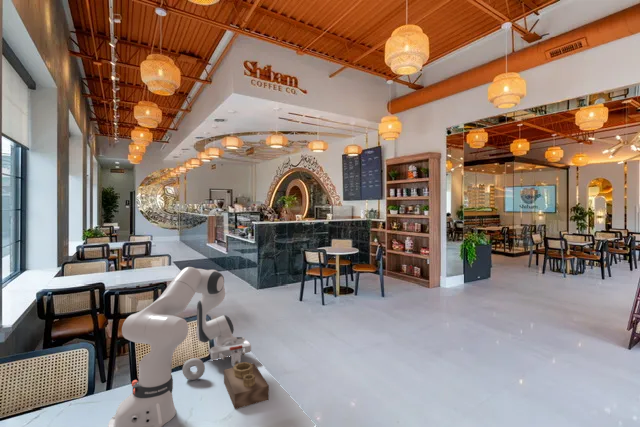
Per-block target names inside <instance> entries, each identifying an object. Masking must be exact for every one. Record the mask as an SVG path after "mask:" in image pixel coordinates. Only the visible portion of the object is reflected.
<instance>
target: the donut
mask: <svg viewBox="0 0 640 427" xmlns="http://www.w3.org/2000/svg"><path fill="white" fill-rule="evenodd" d="M205 366H206V365H205V363H204V361H203V360H202V359H199V358H198V357H197V358H196V357H193V358H190V359H187V360H186V361H185V362H184V363H183V365H182V374H183V376H184V377H185V379H187V380H189V381H195V380H198V379H200V378H201V377H202V376H203V375H204V373H205V370H206V367H205ZM191 367H195V368H196V371H192V370H191Z"/></svg>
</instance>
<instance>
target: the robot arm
mask: <svg viewBox="0 0 640 427" xmlns="http://www.w3.org/2000/svg"><path fill="white" fill-rule="evenodd" d="M195 293H196V294H201V298H200V299H199V300H198V301H197V303H196V304H197V305H196V333H195V334H196V337H197V339H198V341H199V342H201V343H208V342H209V341H212V340H214V339H215V341H216V344H217V345H215V346H212V347H210V348H209V349H208V353H209V354H210V359H211V360H217V359H222V360H223V361H224V360H226V359H227V357H231V352H232V351H234V350H229V348H230V347H235V346H241V345H242V348H241V349H237V350H240V351H241V357H243V356H246V354H247V353H250V352H251V351H252V344H251V343H250V342H249V340H248V339H245V338H246V337H244V336H243V337H242V336H233V333H234V331H235V330H234V324H233V322H232V320H231V318H230V317H229V316H227V315H225V314H223V315H221V316H218V317H215V318H213V319H210V320H208V321H207V315H208V313H209V312H211V311H212V310H213V309H214V308H216V307H218V306H219V305H221V304H222V302H223V301H224V299H225V296H226V289H225V277H224V276H223V274H222V273H221V272H219V271H218V270H217V269H203V268H196V267H192V266H187V267H184V268H182V269H181V270H180V271H178V273H177V274H176V276H174V278H173V279H172V280H171V281H170V283H168V286H167V287H166V288H165V289H164V291H163V292H162V294H160V296H158V297H157V299H156V300H154V301H153V302H151V304H149V305H148V306H146V307H145V308H143V309H141V310H140V311H138V312H135V313H132V314H130V315H129V316H127V317H126V319H124V322H123V323H122V326H121V335H122V337H123V338H124V339H125V340H128V341H130V342H133V343H135V344H144V345H150V352H149V353H146V354H145V355H144V356H143V357H142V358H141V359H140V360H139V364H138V380H137V379H134V380H132V381H131V387H132V393H131V394H130V395H129V396H126V398H125V399H124V400H122V401H121V402H120V403H119V405H118V407H117V409H116V412H115V414H114V415H113V416H112V417H111V418H110V420H109V421H108V423H107V427H163V426H164V425H165V424H167V423H168V422H170V421H171V420H172V419H173V418H174V417H175V416H176V413H177V409H176V406H175V402H174V397H173V389H174V379H173V375H172V361H173V356H174V355H173V354H174V352H175V351H176V348H177V347H179V346H180V345H181V344H182V343H184V341H185V340H186V339H187V337H188V334H189V324H188V322H187V320H186V319H185V318H182V317H180V316H177V315H180V314H182V313H183V312H184V311H185V310H186V308H187V307H188V305H189V303H190V302H191V301H192V299H193V298H194V296H195Z"/></svg>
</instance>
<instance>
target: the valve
mask: <svg viewBox="0 0 640 427" xmlns="http://www.w3.org/2000/svg"><path fill="white" fill-rule="evenodd" d="M241 348H242V345H241V346H235V347H230V348H229V350H234V351H232V352H231V356H230V358H231V359H230V360H231V362H230V365H231V366H230V368H233V367H234V366H235V365H236V364H238V363H242V361H241V358H242V355H241V351H240V350H237V349H241Z"/></svg>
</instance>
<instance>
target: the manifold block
mask: <svg viewBox="0 0 640 427" xmlns="http://www.w3.org/2000/svg"><path fill="white" fill-rule="evenodd" d="M223 384H224V386H225V389H226V392H227V393H228V396H229V398H230V401H231V403H232V406H233V408H234V410H237V409H241V408H244V407H245V408H246V407H247V406H251V405H255V404H258V403H263V402H265V401H269V398H270V396H269V395H270V392H269V391H270V385H269V384H268V382H267V381H266V379H265V378H264V376H263V374H262V373H261V371H260V370H259V368H258V367H257V365H256V363H254V362H253V363H251V362H246V361H244V362H243V361H241V363H238V364H236V365H235V366H234V367H233V368H231V367H230V368H225V369H223Z"/></svg>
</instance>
